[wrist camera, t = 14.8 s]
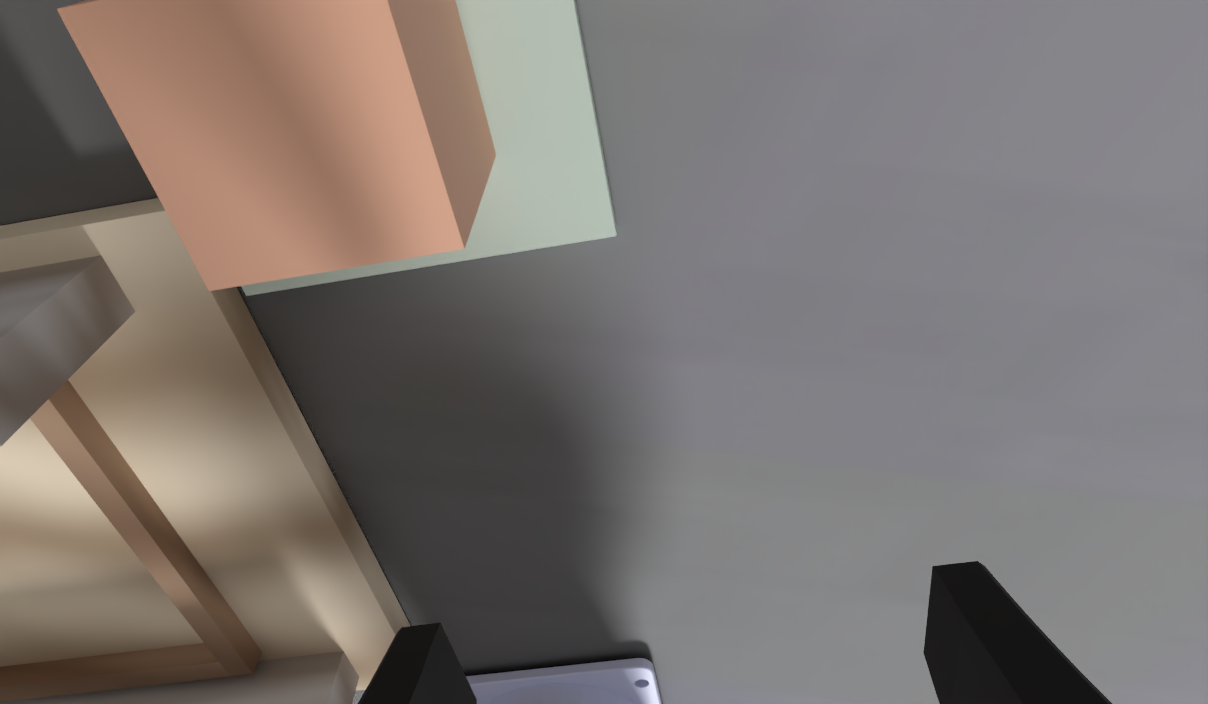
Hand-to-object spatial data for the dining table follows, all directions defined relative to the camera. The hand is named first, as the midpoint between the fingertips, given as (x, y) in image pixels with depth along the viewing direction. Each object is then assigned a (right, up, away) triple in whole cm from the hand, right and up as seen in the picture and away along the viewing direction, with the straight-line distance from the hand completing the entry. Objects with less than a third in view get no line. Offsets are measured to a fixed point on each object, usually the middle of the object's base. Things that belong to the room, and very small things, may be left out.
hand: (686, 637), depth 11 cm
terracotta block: (-6, +10, +4) cm, 12 cm away
